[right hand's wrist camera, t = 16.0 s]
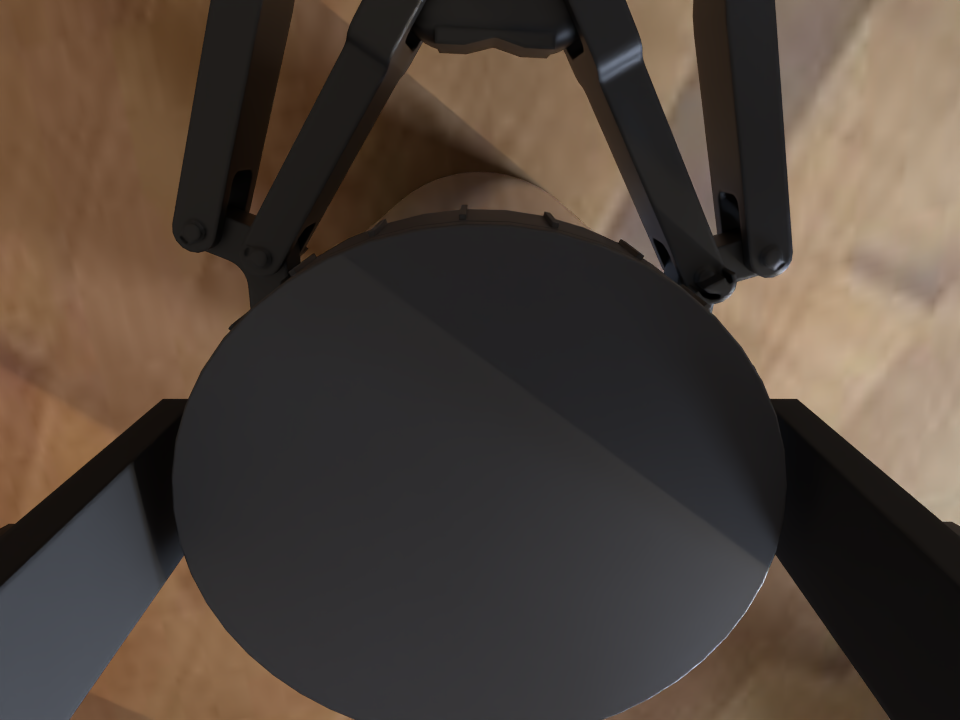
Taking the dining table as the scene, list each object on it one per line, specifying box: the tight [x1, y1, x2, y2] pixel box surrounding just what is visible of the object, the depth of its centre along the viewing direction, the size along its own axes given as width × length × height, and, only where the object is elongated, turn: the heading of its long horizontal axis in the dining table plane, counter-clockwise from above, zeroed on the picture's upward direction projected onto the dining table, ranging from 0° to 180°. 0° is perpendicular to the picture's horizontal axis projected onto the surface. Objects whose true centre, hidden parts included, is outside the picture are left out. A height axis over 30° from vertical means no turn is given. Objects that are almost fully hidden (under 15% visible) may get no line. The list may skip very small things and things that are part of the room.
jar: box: [365, 172, 592, 232], centre depth 18 cm, size 10×10×15 cm
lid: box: [172, 205, 787, 720], centre depth 11 cm, size 11×11×2 cm
